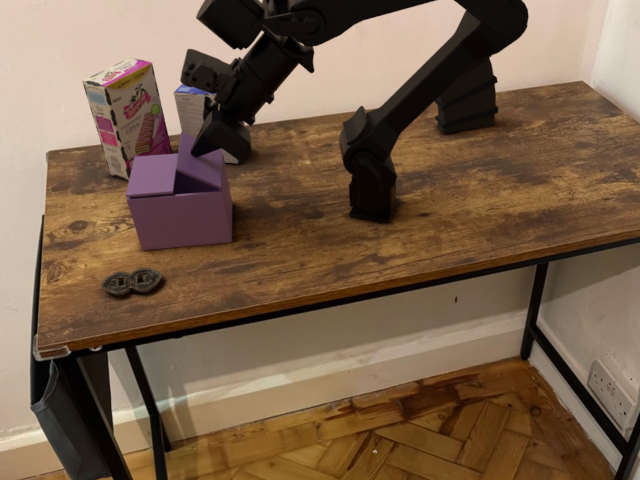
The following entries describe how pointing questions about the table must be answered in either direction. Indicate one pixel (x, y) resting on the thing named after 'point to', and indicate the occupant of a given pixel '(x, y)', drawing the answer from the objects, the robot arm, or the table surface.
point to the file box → (177, 205)
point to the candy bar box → (127, 114)
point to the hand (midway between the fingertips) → (193, 154)
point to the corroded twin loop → (132, 281)
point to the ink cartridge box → (194, 113)
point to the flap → (199, 162)
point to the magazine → (469, 100)
